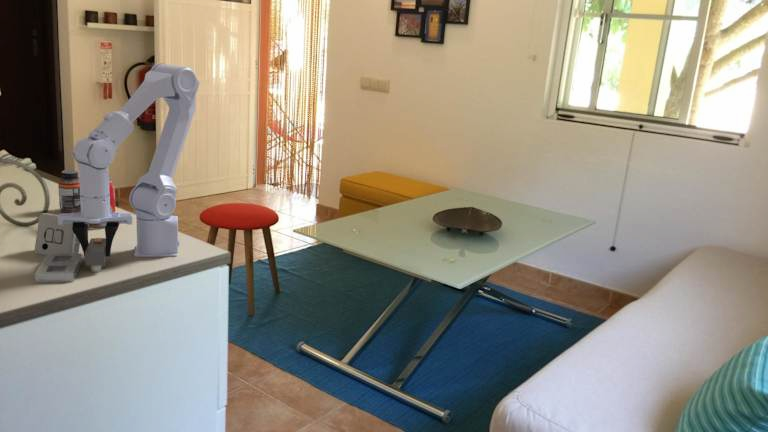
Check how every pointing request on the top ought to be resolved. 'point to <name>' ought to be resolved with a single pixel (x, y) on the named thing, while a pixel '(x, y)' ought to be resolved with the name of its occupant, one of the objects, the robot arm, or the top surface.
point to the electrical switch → (55, 237)
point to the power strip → (96, 254)
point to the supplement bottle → (69, 192)
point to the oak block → (101, 265)
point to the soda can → (112, 204)
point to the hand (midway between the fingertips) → (97, 255)
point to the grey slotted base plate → (58, 268)
